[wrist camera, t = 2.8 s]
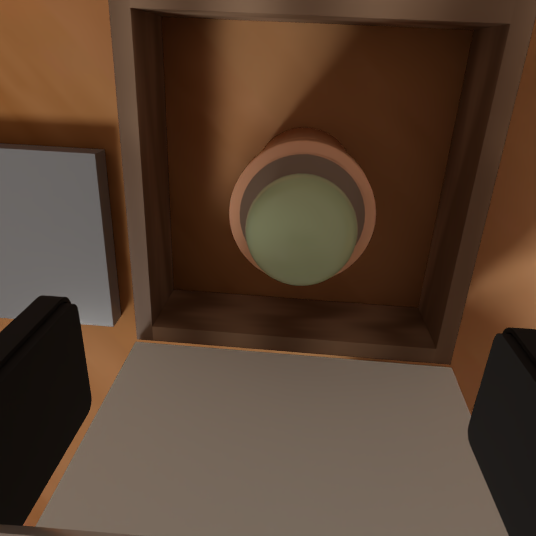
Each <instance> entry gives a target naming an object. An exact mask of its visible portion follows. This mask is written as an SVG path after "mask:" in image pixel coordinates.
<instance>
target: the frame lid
mask: <svg viewBox="0 0 536 536" xmlns="http://www.w3.org/2000/svg"><path fill="white" fill-rule="evenodd" d="M470 418H471V415H470V412H469V410H468V407H467V405H466V402H465V400H464V397H463V395H462V392H461V390H460V387H459V385H458V382H457V380H456V377H455V375H454V372H453V370H452V368H450V367H438V366H426V365H414V364H401V363H389V362H377V361H364V360H352V359H340V358H328V357H315V356H303V355H291V354H279V353H266V352H254V351H242V350H229V349H217V348H205V347H193V346H180V345H168V344H156V343H144V342H135V344H134V346H133V348H132V349H131V351H130V353H129V355H128V357H127V359H126V360H125V362H124V364H123V366H122V368H121V370H120V372H119V373H118V375H117V377H116V379H115V381H114V383H113V384H112V386H111V388H110V390H109V392H108V394H107V395H106V397H105V399H104V401H103V403H102V405H101V407H100V408H99V410H98V412H97V414H96V416H95V418H94V419H93V421H92V423H91V425H90V427H89V429H88V431H87V432H86V434H85V436H84V438H83V440H82V442H81V443H80V445H79V447H78V449H77V451H76V453H75V455H74V456H73V458H72V460H71V462H70V464H69V466H68V467H67V469H66V471H65V473H64V475H63V477H62V479H61V480H60V482H59V484H58V486H57V488H56V490H55V491H54V493H53V495H52V497H51V499H50V501H49V503H48V504H47V506H46V508H45V510H44V512H43V514H42V515H41V517H40V519H39V521H38V523H37V525H36V526H35V527H46V528H58V529H70V530H82V531H94V532H106V533H118V534H130V535H142V536H509V535H508V533H507V531H506V528H505V526H504V524H503V521H502V519H501V516H500V514H499V512H498V509H497V507H496V505H495V502H494V500H493V498H492V495H491V493H490V491H489V488H488V486H487V484H486V481H485V479H484V477H483V474H482V472H481V470H480V467H479V465H478V463H477V460H476V458H475V456H474V453H473V451H472V449H471V446H470V444H469V440H468V425H469V422H470Z"/></svg>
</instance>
